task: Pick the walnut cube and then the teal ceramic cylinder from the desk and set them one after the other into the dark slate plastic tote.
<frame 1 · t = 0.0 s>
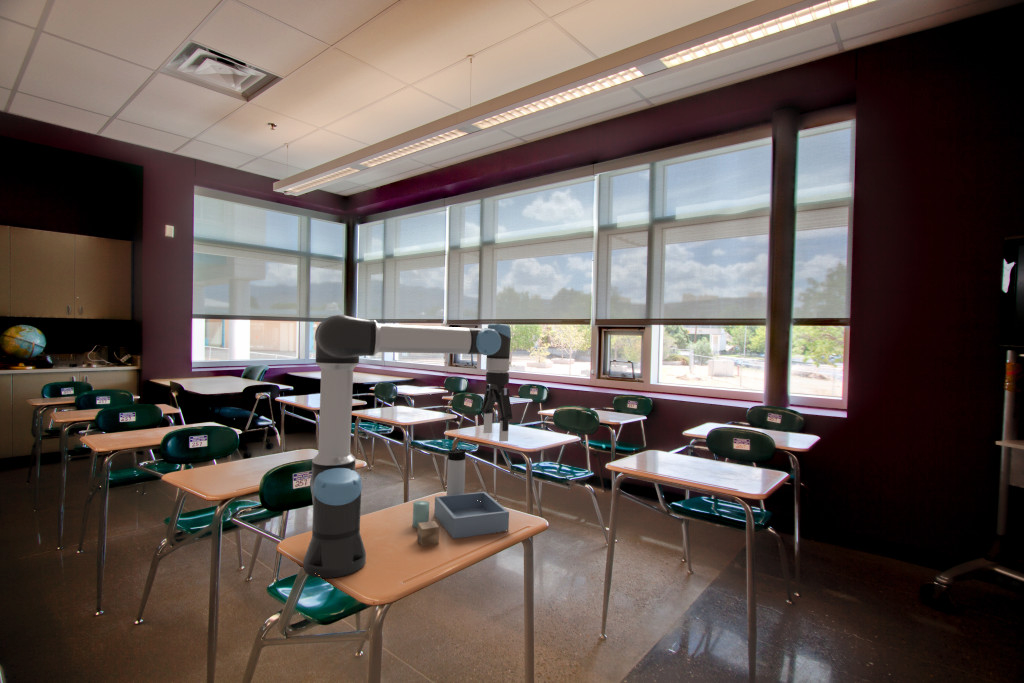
hand: (495, 437, 159), 28 cm above the table, tool pointing down, fingers open, 13 cm apart
teal cylinder: (420, 525, 155), on the table
walnut cube: (427, 541, 143), on the table
tote: (470, 522, 159), on the table
travel mug: (455, 505, 174), on the table
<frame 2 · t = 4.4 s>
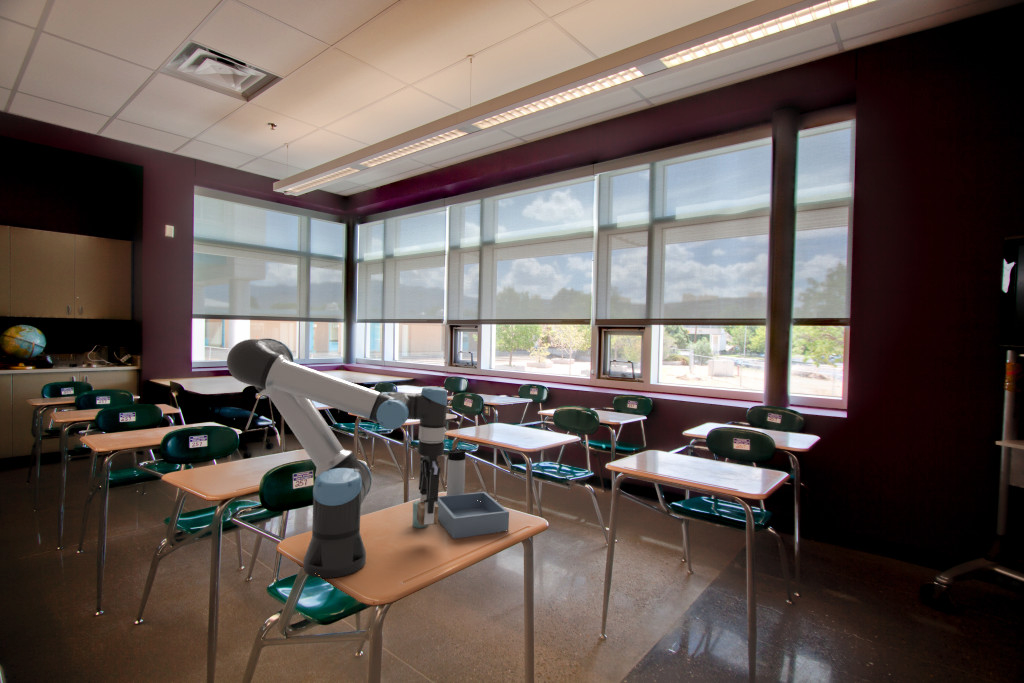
hand: (426, 519, 143), 6 cm above the table, tool pointing down, fingers closed on walnut cube, 5 cm apart
walnut cube: (427, 521, 143), point 6 cm above the table, touching gripper
everything else where it was.
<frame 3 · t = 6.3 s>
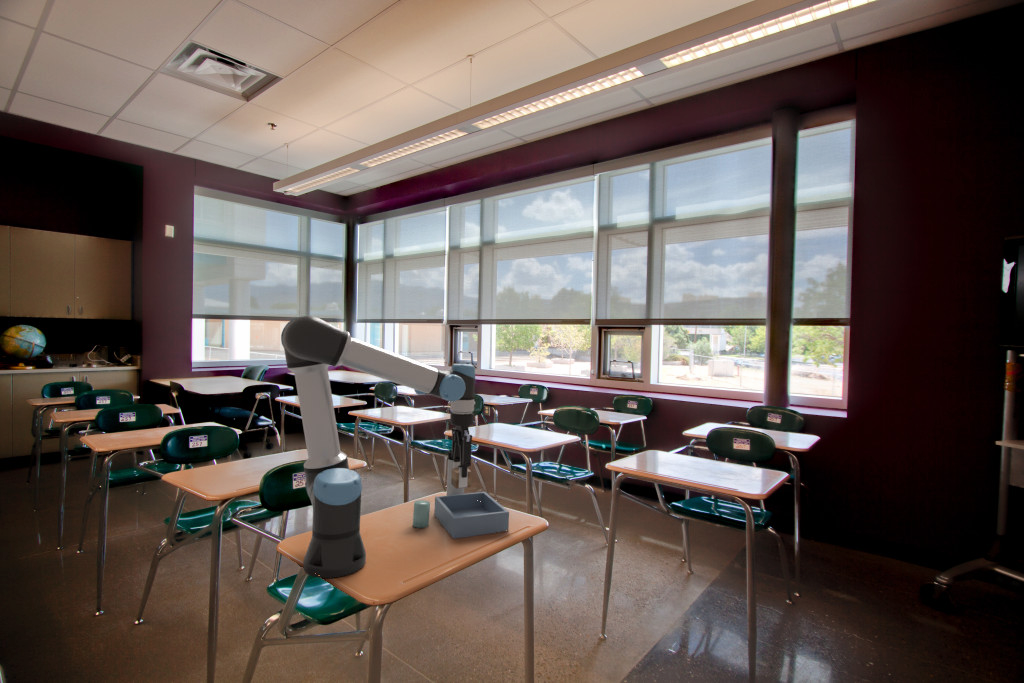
hand: (460, 484, 157), 13 cm above the table, tool pointing down, fingers closed on walnut cube, 5 cm apart
walnut cube: (460, 485, 157), point 12 cm above the table, touching gripper
everything else where it was.
when the fingers open (2 cm above the table, at t = 8.1 s): walnut cube stays where it is, resting on tote.
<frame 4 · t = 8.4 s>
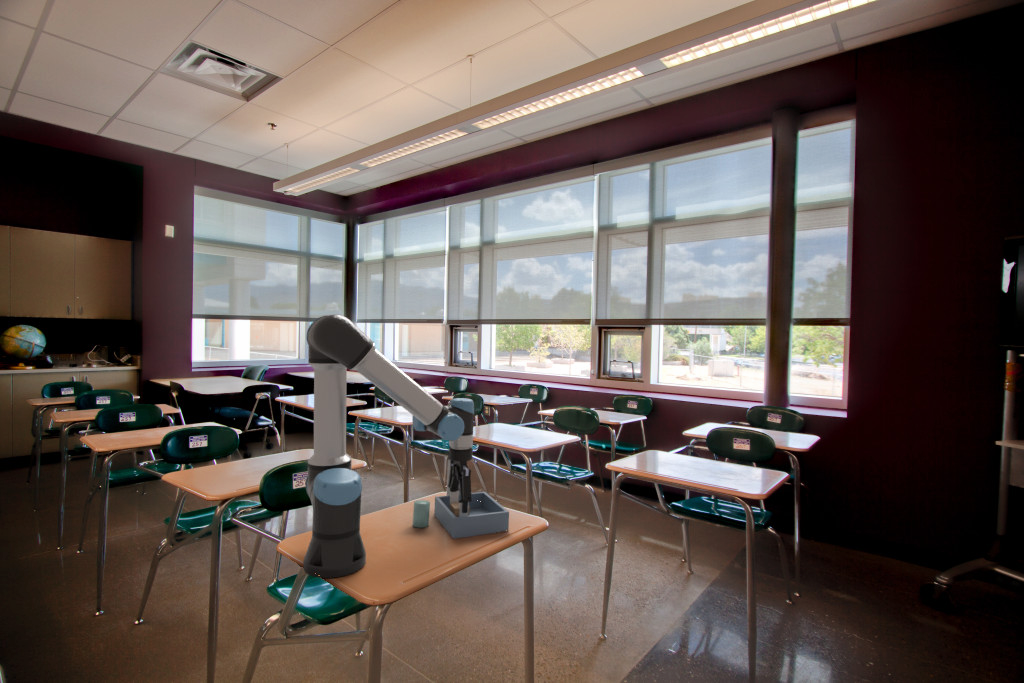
hand: (458, 516, 157), 2 cm above the table, tool pointing down, fingers open, 9 cm apart
walnut cube: (459, 520, 157), point 1 cm above the table, touching tote
everything else where it was.
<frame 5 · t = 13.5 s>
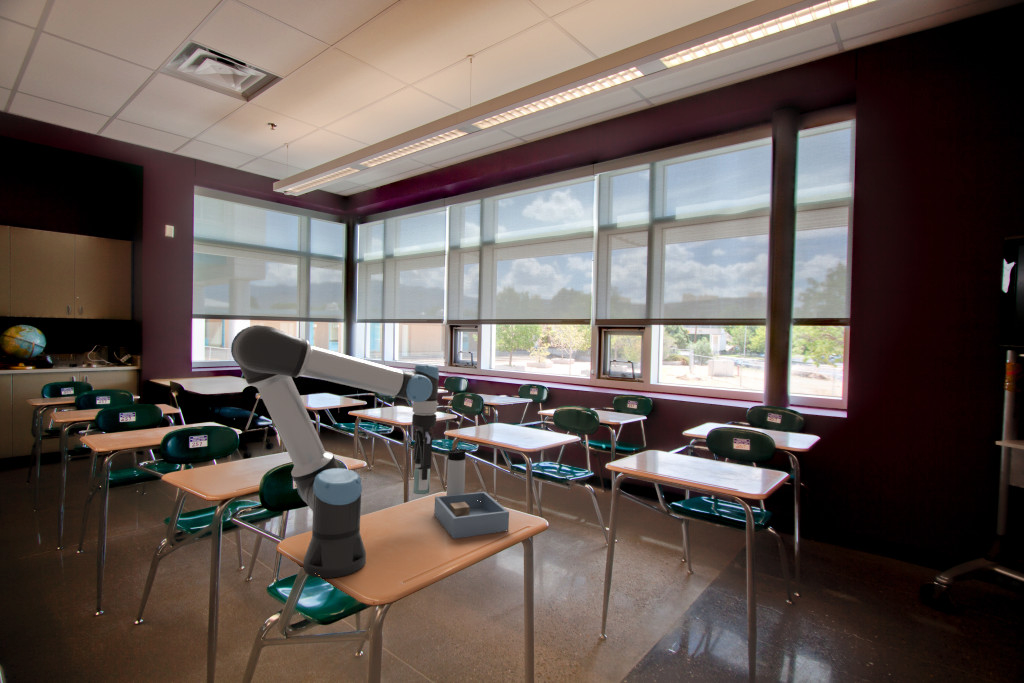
hand: (420, 486, 155), 12 cm above the table, tool pointing down, fingers closed on teal cylinder, 5 cm apart
teal cylinder: (421, 491, 155), point 11 cm above the table, touching gripper
everything else where it was.
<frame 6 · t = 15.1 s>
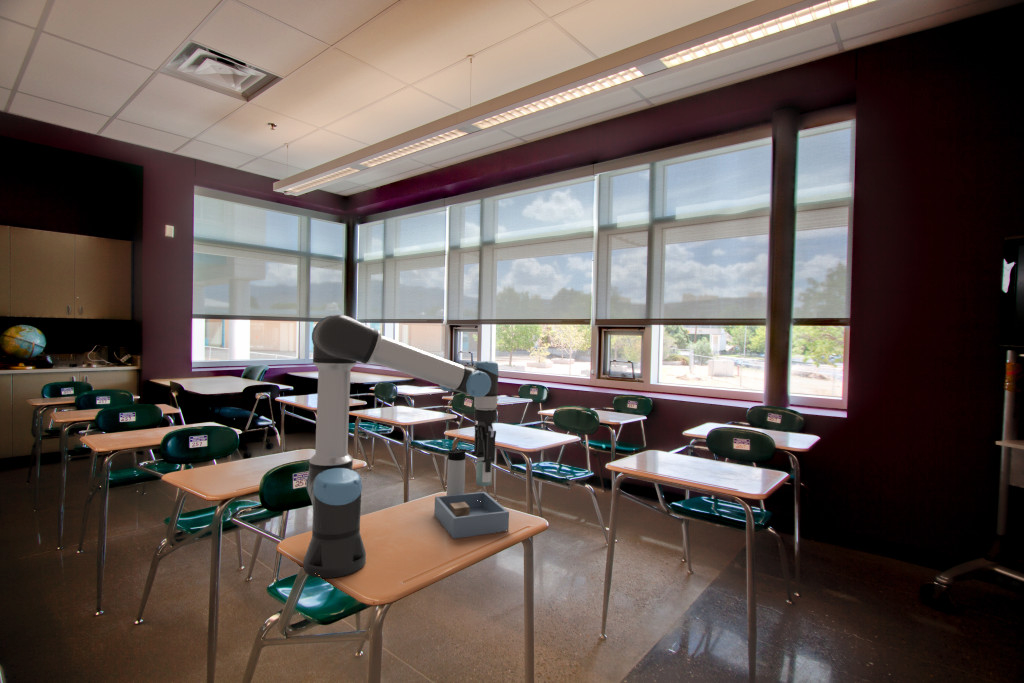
hand: (483, 479, 160), 14 cm above the table, tool pointing down, fingers closed on teal cylinder, 5 cm apart
teal cylinder: (483, 483, 160), point 12 cm above the table, touching gripper
everything else where it was.
when the fingers open (2 cm above the table, at t = 17.0 s): teal cylinder stays where it is, resting on tote.
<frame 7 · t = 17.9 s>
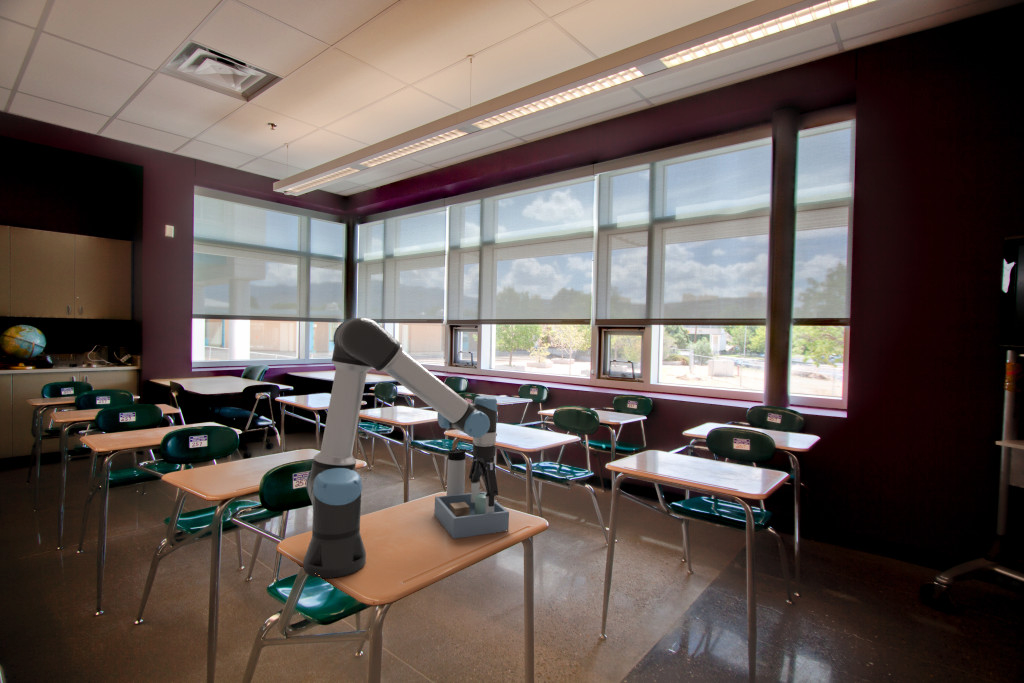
hand: (481, 508, 160), 4 cm above the table, tool pointing down, fingers open, 13 cm apart
teal cylinder: (482, 517, 160), point 1 cm above the table, touching tote
everything else where it was.
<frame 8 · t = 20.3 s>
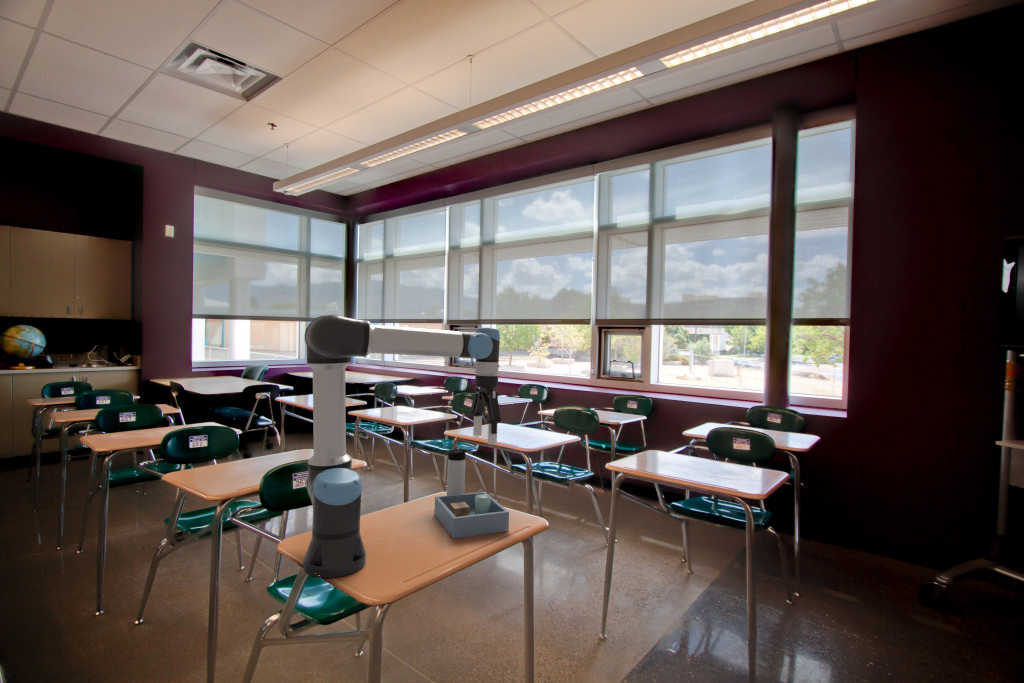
hand: (484, 439, 160), 27 cm above the table, tool pointing down, fingers open, 13 cm apart
nothing on the table moved.
at the end: walnut cube inside the target area on the tote (3.7 cm from its centre), point 1.0 cm above the tote's base; teal cylinder inside the target area on the tote (4.2 cm from its centre), point 1.0 cm above the tote's base; the gripper is holding nothing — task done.
